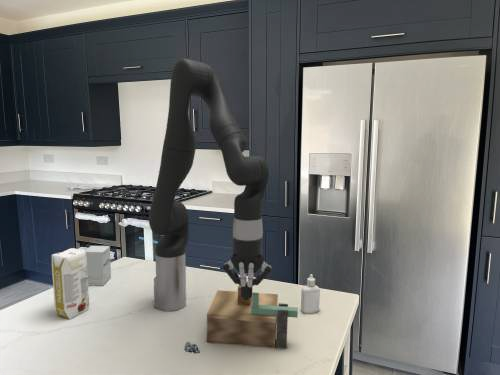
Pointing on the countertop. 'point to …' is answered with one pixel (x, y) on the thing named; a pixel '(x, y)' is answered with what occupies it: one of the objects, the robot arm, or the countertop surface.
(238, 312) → the lid
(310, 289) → the eye dropper bottle
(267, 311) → the green bar
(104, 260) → the supplement box
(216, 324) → the wooden box
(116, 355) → the countertop surface
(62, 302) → the juice carton
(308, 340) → the countertop surface
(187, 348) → the blueberries
